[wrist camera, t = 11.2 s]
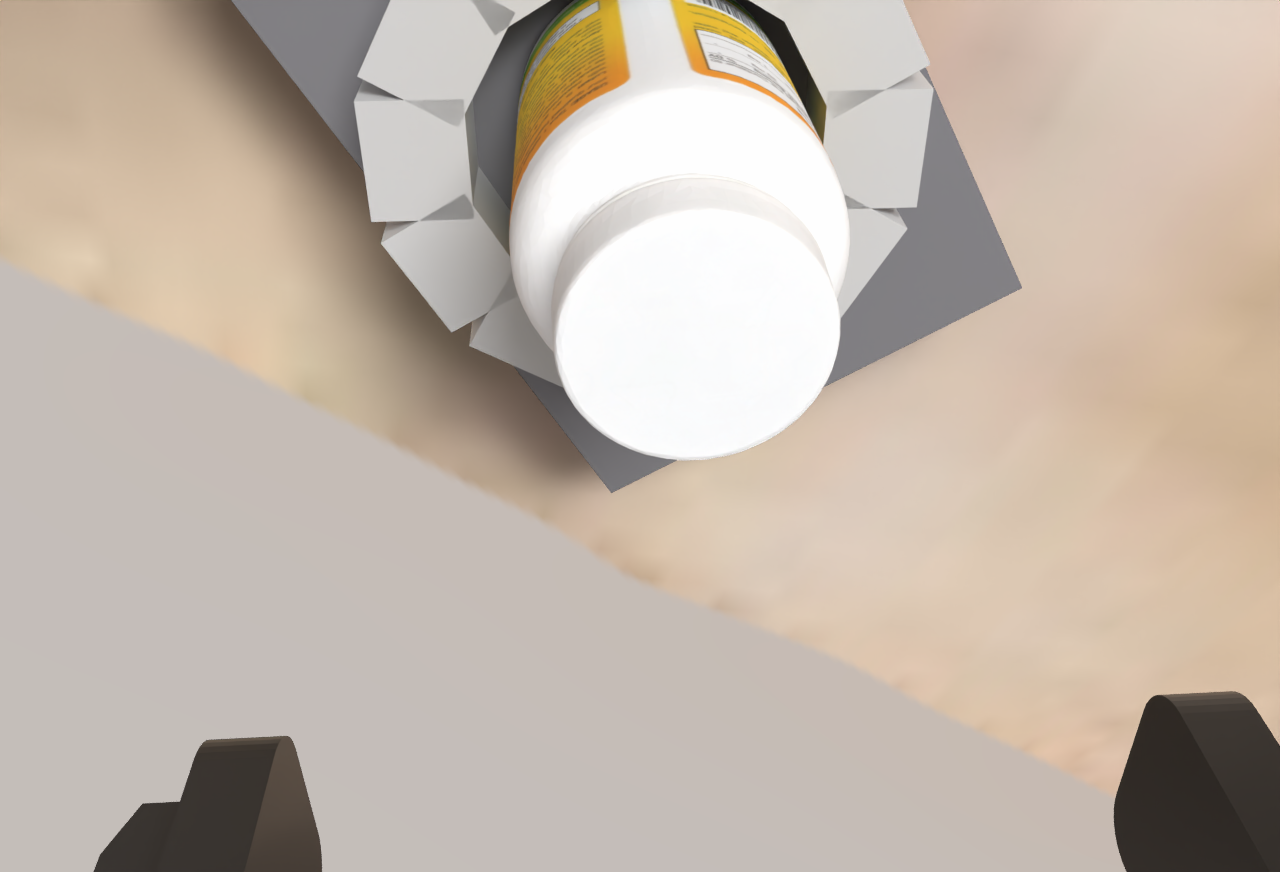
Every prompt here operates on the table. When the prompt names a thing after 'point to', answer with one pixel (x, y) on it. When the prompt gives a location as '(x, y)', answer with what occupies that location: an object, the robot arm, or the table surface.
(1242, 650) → the table surface
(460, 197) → the camera body
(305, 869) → the robot arm
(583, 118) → the supplement bottle
